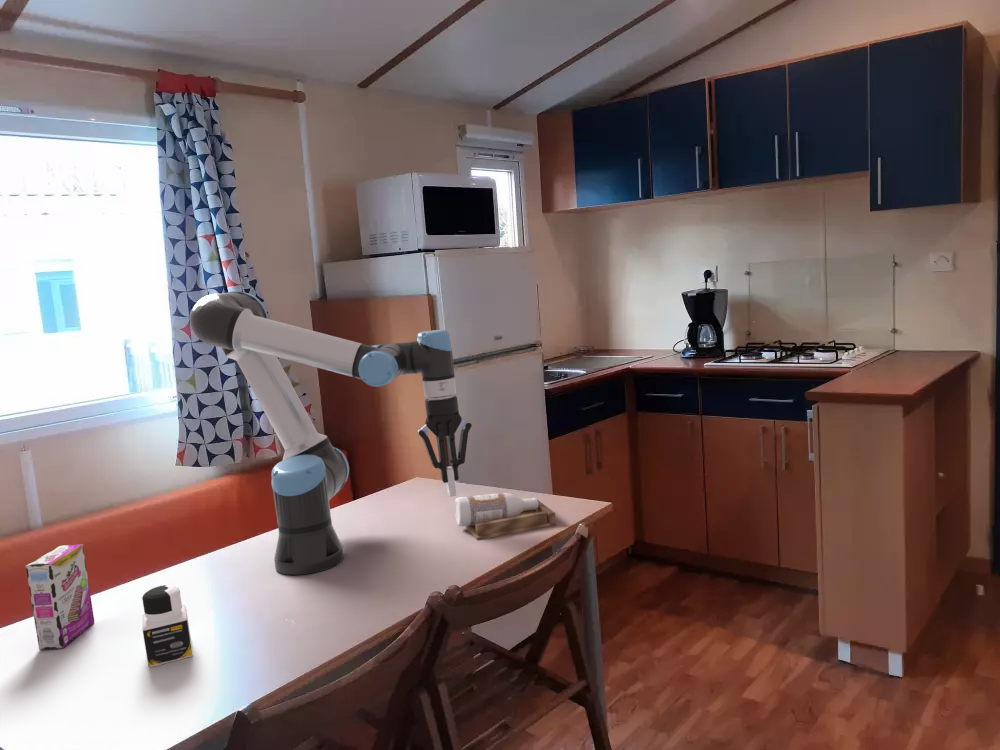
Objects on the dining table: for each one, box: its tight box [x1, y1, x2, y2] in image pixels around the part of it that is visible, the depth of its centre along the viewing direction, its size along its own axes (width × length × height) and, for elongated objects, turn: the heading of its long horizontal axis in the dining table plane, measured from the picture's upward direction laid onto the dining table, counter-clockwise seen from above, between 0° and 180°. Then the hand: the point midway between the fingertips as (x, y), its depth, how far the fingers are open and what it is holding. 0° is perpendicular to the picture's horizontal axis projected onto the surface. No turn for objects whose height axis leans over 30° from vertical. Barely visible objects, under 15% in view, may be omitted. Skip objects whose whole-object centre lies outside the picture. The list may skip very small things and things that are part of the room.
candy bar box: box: [25, 543, 95, 651], centre depth 151 cm, size 11×5×16 cm, turn 178°
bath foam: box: [454, 492, 539, 527], centre depth 193 cm, size 7×7×20 cm
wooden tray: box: [464, 499, 557, 541], centre depth 193 cm, size 20×14×3 cm
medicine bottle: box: [141, 584, 194, 668], centre depth 139 cm, size 7×7×12 cm
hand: (451, 494), depth 188 cm, fingers closed
